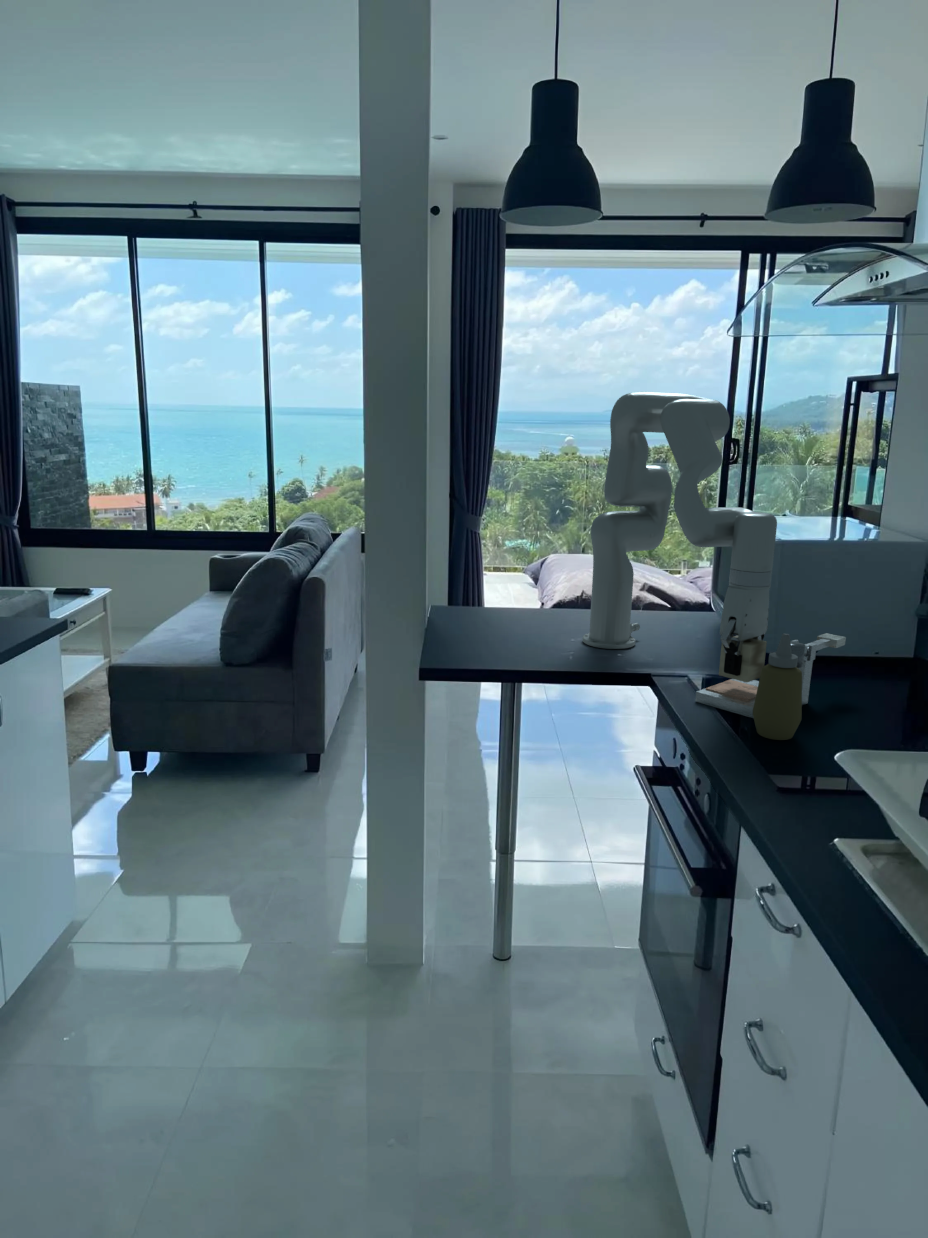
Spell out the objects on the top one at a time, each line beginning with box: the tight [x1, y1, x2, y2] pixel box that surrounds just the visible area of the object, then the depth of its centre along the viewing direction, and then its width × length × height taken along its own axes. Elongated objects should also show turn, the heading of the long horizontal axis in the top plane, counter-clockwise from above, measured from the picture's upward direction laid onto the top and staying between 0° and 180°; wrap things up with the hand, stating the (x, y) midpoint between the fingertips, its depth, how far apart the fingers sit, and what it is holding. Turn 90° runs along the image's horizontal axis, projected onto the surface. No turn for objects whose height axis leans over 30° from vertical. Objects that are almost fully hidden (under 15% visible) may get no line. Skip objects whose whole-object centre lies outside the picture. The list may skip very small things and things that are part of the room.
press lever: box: [790, 632, 847, 668], centre depth 168 cm, size 21×4×4 cm, turn 133°
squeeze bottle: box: [753, 633, 803, 741], centre depth 148 cm, size 8×8×18 cm
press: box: [694, 639, 817, 719], centre depth 166 cm, size 16×15×12 cm
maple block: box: [718, 635, 768, 682], centre depth 166 cm, size 6×6×7 cm
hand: (741, 670), depth 167 cm, fingers closed on maple block, 6 cm apart
